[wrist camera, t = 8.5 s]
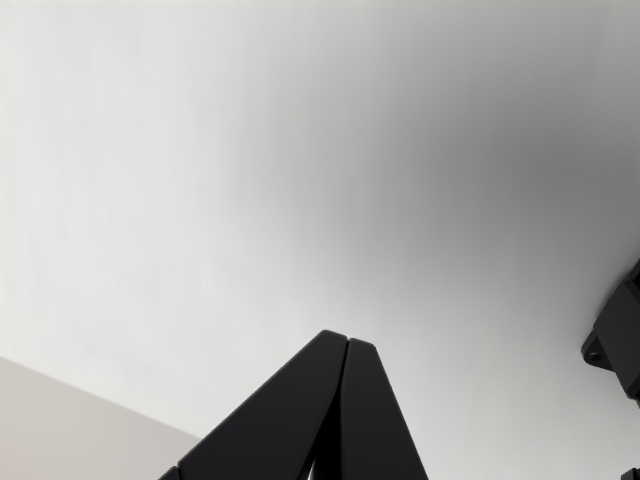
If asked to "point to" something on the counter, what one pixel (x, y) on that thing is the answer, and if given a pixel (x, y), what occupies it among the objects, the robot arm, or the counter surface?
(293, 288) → the counter surface
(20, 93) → the counter surface
